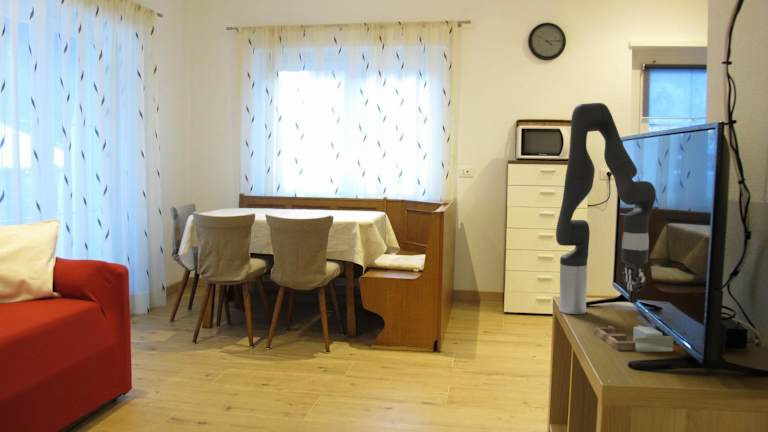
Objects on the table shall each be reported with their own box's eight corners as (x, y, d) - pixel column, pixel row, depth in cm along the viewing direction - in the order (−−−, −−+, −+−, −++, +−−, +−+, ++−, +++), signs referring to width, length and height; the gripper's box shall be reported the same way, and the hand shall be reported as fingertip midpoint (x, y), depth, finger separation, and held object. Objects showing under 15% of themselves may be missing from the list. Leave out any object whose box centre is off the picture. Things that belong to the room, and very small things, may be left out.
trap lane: (592, 332, 187) (592, 319, 187) (640, 331, 188) (640, 319, 188) (619, 351, 167) (619, 338, 167) (673, 351, 168) (673, 337, 168)
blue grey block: (633, 343, 176) (633, 327, 175) (649, 343, 176) (649, 326, 176) (645, 350, 169) (645, 333, 169) (662, 350, 169) (662, 333, 169)
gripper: (613, 243, 187) (611, 297, 189) (633, 250, 174) (630, 308, 176) (636, 243, 187) (634, 297, 189) (658, 250, 174) (655, 308, 176)
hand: (632, 302), depth 182 cm, fingers closed
